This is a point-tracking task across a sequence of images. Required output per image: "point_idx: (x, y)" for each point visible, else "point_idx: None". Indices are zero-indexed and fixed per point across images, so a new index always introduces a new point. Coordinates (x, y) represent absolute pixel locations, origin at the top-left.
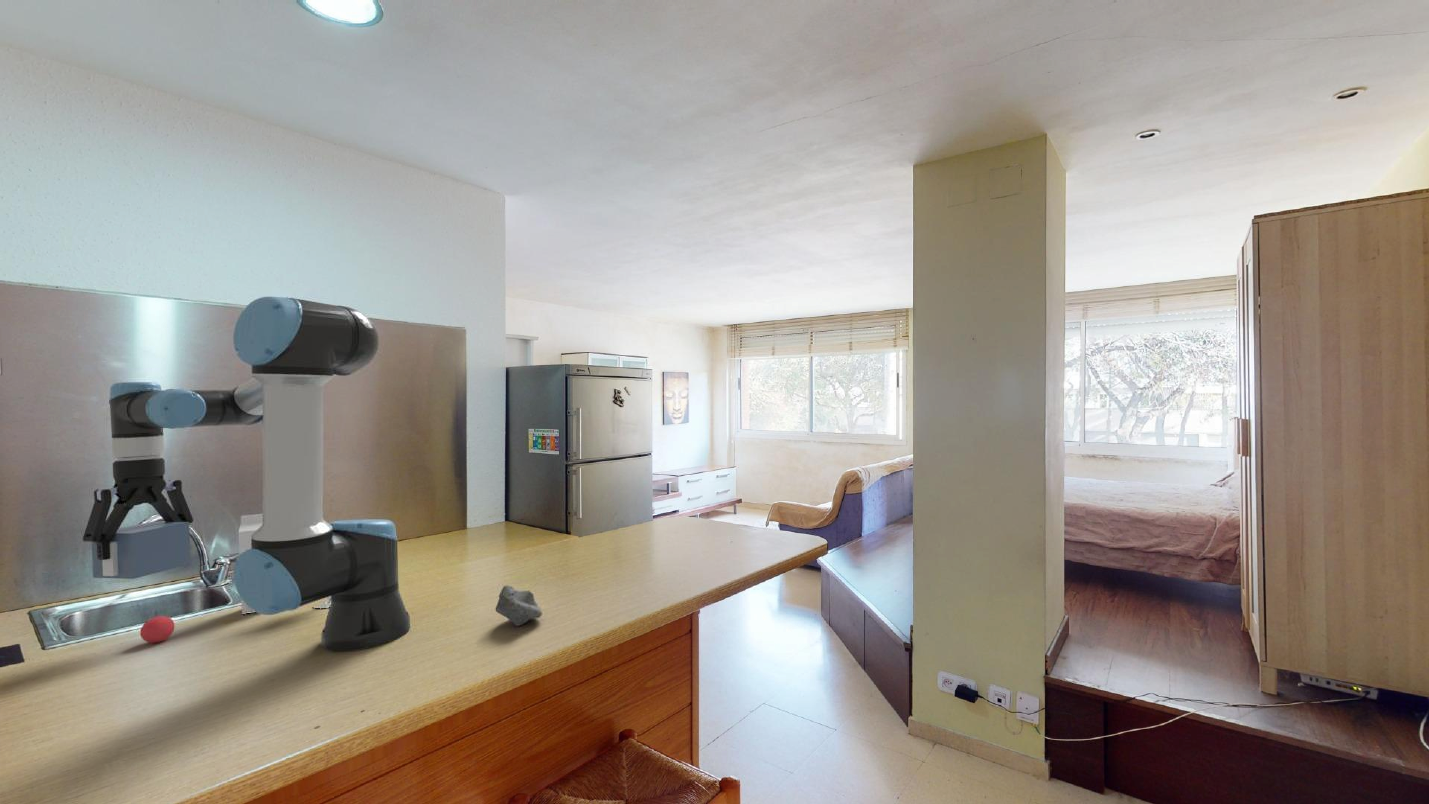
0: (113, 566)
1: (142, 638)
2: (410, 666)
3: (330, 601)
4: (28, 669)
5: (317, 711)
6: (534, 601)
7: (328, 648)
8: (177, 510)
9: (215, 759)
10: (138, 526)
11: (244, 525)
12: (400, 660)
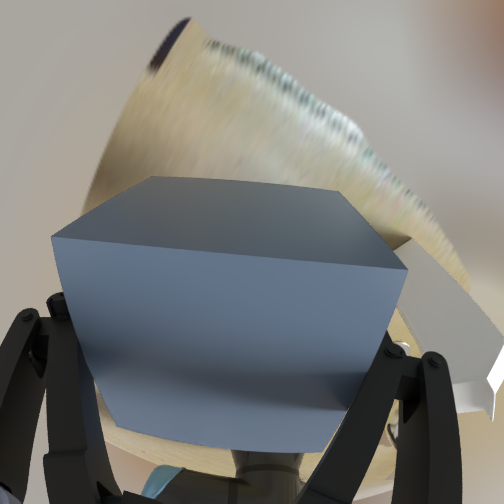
0: None
1: None
2: (214, 465)
3: None
4: (131, 125)
5: (154, 449)
6: None
7: None
8: (414, 431)
9: (107, 431)
10: (240, 347)
11: (470, 386)
12: (222, 461)
